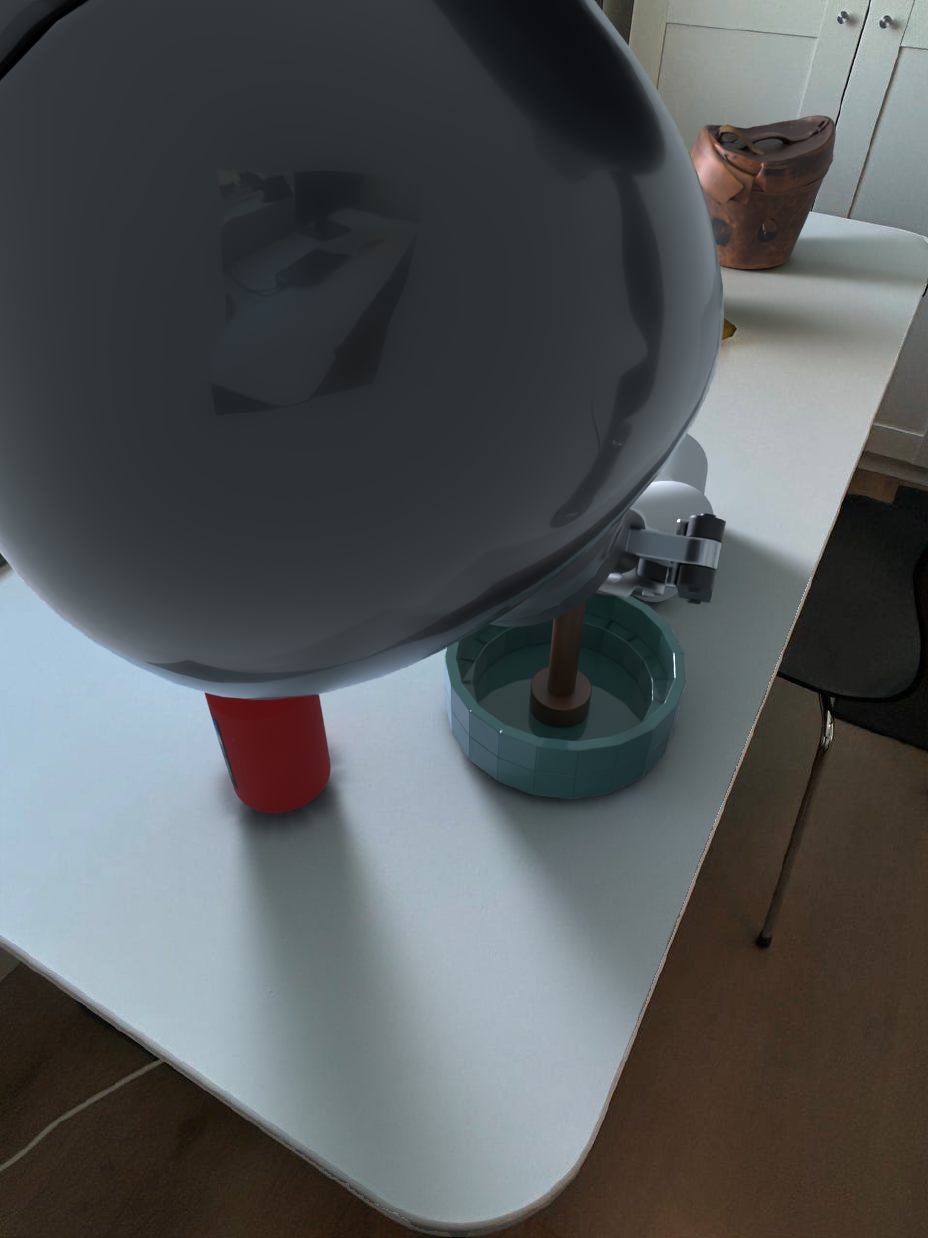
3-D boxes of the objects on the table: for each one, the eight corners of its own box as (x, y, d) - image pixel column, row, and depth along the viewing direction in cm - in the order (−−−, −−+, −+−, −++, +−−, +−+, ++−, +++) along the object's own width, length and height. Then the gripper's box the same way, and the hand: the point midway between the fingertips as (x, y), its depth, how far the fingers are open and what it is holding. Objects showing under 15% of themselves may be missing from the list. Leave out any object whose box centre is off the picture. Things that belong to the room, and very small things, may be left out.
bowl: (697, 673, 68) (712, 617, 64) (631, 841, 57) (644, 786, 53) (502, 610, 73) (504, 554, 69) (407, 753, 63) (403, 697, 58)
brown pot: (648, 251, 130) (667, 116, 118) (737, 222, 139) (764, 93, 127) (742, 291, 120) (774, 148, 108) (832, 257, 129) (871, 120, 116)
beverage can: (270, 728, 64) (241, 608, 56) (350, 760, 62) (332, 639, 54) (214, 798, 60) (173, 678, 52) (298, 835, 58) (269, 716, 49)
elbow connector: (708, 648, 68) (724, 502, 82) (702, 538, 62) (721, 400, 76) (491, 642, 74) (541, 507, 88) (465, 541, 68) (523, 413, 82)
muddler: (597, 694, 66) (623, 522, 55) (576, 736, 63) (600, 563, 52) (542, 675, 67) (557, 504, 56) (520, 715, 64) (531, 543, 53)
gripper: (778, 393, 23) (722, 501, 39) (287, 328, 26) (420, 453, 42) (724, 669, 23) (690, 666, 39) (238, 574, 26) (389, 607, 42)
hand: (550, 556), depth 41 cm, fingers open, 8 cm apart
